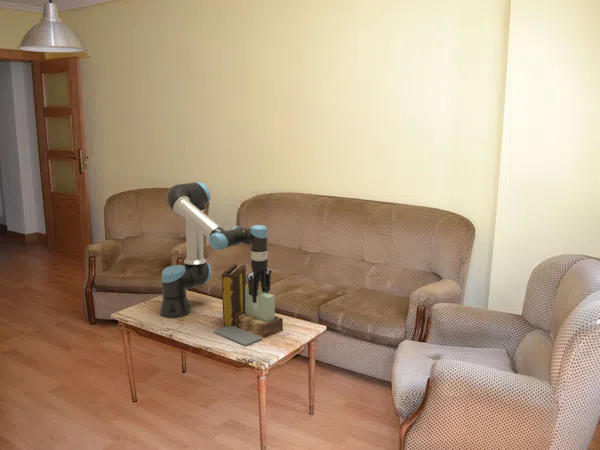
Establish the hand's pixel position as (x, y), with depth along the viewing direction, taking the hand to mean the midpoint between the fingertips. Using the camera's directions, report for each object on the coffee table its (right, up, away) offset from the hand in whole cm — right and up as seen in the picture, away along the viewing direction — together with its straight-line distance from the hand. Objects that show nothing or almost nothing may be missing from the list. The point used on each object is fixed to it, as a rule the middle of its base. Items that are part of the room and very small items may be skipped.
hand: (259, 307), depth 249 cm
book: (-13, -7, +14) cm, 20 cm away
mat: (-9, -12, -8) cm, 17 cm away
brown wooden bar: (-3, -10, -2) cm, 11 cm away
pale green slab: (0, -8, +2) cm, 8 cm away
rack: (-1, -10, +1) cm, 10 cm away
